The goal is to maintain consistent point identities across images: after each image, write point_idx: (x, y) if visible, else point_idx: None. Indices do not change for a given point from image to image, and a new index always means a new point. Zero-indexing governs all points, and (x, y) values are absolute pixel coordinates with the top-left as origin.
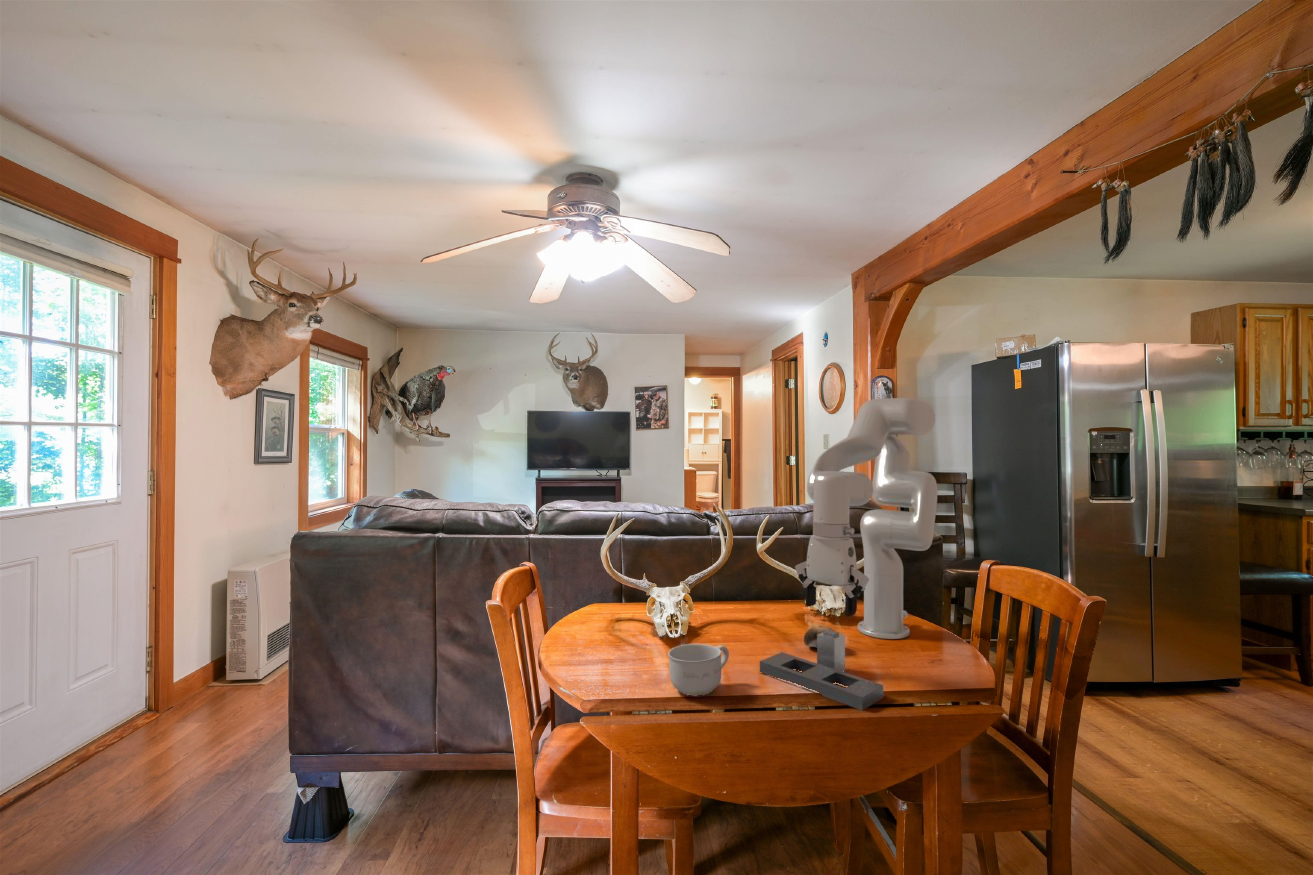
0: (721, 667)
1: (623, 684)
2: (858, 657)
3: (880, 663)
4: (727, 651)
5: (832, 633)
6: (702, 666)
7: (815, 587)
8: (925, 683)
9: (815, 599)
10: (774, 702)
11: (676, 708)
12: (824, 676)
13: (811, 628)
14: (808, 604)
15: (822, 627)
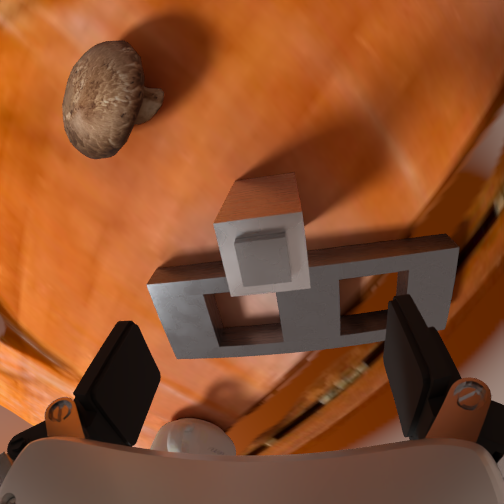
0: (191, 427)
1: None
2: (237, 41)
3: (314, 27)
4: (181, 441)
5: (280, 272)
6: None
7: (88, 391)
8: (468, 73)
9: (128, 344)
10: (304, 394)
11: None
12: (334, 317)
13: (76, 137)
14: (158, 383)
15: (98, 110)
